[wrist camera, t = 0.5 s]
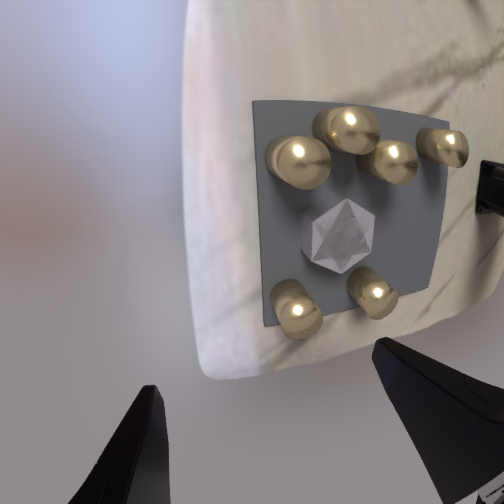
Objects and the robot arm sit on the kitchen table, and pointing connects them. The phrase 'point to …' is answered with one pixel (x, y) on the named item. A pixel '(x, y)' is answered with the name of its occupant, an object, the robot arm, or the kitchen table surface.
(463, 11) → the kitchen table surface
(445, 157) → the brass spacers
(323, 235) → the clear faceted crystal
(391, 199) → the mat
